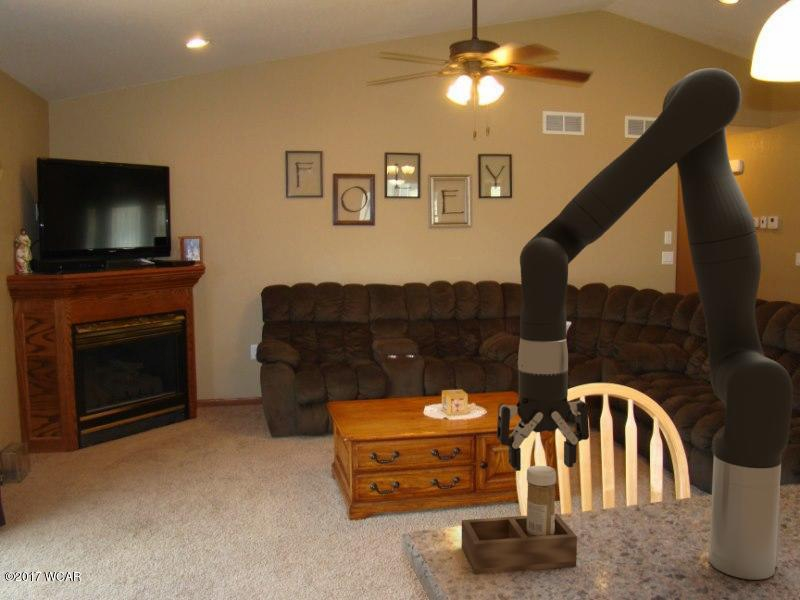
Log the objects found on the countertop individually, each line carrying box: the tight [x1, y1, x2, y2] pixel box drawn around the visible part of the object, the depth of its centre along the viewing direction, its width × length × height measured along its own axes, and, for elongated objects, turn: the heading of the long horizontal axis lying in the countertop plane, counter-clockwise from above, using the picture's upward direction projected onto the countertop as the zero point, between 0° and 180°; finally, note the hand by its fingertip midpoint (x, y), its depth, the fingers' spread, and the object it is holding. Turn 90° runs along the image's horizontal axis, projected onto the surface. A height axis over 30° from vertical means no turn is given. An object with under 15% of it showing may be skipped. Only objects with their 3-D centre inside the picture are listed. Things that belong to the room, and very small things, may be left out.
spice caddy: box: [461, 513, 578, 575], centre depth 112 cm, size 16×9×5 cm, turn 98°
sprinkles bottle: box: [526, 464, 557, 537], centre depth 112 cm, size 5×5×13 cm
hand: (542, 467), depth 111 cm, fingers open, 8 cm apart
